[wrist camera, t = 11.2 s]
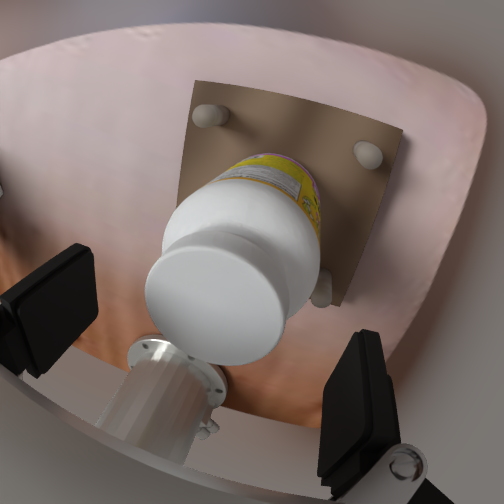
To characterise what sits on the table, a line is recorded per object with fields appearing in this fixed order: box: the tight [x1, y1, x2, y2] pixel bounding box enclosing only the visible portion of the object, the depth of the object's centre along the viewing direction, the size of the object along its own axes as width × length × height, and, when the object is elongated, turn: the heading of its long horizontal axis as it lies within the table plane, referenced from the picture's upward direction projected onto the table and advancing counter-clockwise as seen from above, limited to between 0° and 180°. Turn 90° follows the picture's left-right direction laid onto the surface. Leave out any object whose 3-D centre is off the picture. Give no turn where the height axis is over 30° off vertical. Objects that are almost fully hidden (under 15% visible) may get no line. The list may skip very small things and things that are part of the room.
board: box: [176, 80, 403, 308], centre depth 20 cm, size 14×14×4 cm
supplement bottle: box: [145, 153, 320, 366], centre depth 15 cm, size 7×7×13 cm
